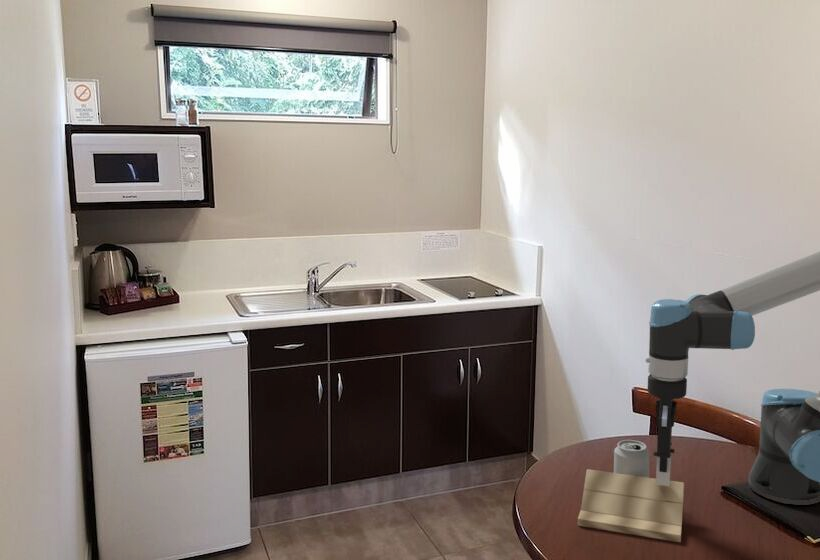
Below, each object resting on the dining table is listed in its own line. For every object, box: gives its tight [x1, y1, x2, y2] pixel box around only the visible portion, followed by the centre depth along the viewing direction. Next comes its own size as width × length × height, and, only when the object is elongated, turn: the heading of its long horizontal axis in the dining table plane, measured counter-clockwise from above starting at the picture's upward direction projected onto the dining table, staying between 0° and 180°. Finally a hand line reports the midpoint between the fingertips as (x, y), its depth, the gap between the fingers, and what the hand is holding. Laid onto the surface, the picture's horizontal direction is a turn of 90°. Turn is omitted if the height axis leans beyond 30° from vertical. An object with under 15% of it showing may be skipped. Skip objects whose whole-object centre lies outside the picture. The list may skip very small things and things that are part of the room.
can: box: [613, 439, 650, 478], centre depth 162 cm, size 8×8×12 cm
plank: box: [580, 468, 685, 526], centre depth 154 cm, size 20×10×2 cm
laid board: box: [577, 509, 683, 543], centre depth 148 cm, size 20×4×2 cm, turn 68°
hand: (662, 483), depth 152 cm, fingers closed
